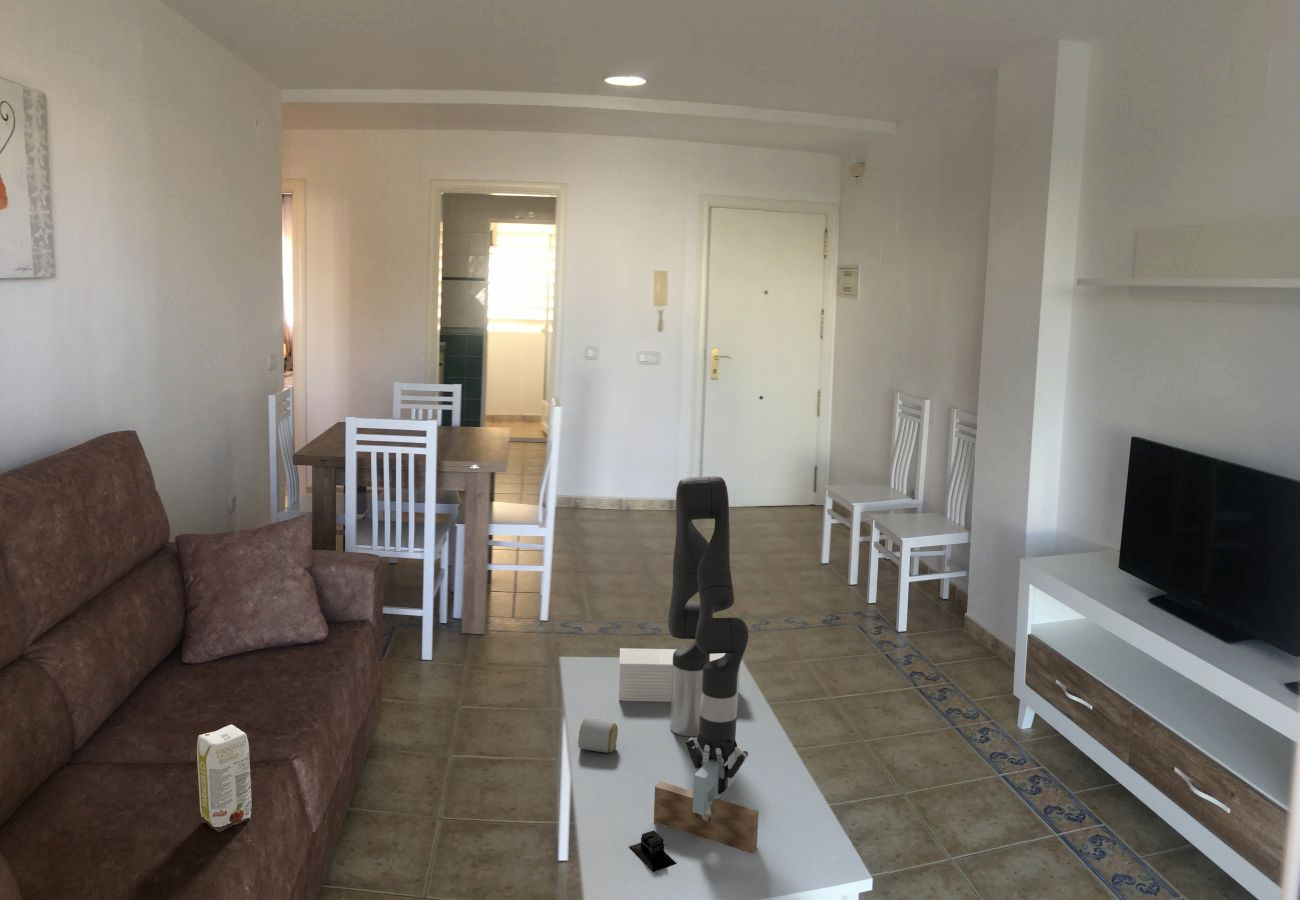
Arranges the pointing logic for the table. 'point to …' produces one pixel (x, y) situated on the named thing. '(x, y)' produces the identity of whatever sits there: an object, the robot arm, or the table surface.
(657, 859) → the black plastic bracket
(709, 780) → the blue grey block
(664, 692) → the stack of papers
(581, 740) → the ceramic mug
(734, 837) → the brown wooden board
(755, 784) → the table surface
